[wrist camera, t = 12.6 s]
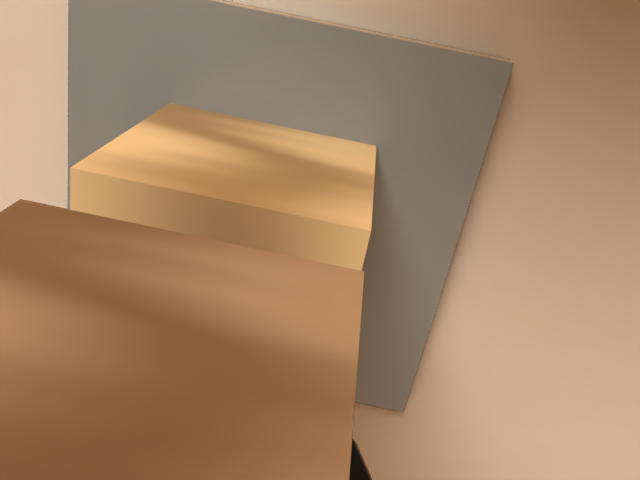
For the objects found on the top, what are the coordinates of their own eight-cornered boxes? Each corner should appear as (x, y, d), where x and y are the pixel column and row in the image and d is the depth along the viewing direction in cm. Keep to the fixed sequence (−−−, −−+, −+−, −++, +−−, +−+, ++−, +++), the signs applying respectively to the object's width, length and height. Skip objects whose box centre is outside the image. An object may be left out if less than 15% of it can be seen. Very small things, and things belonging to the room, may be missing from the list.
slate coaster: (76, 328, 18) (67, 340, 18) (80, -30, 14) (68, -29, 13) (403, 399, 18) (403, 412, 17) (508, 59, 14) (513, 63, 13)
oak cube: (156, 282, 16) (69, 404, 12) (170, 102, 14) (69, 168, 10) (336, 321, 16) (316, 457, 12) (376, 145, 14) (371, 231, 10)
